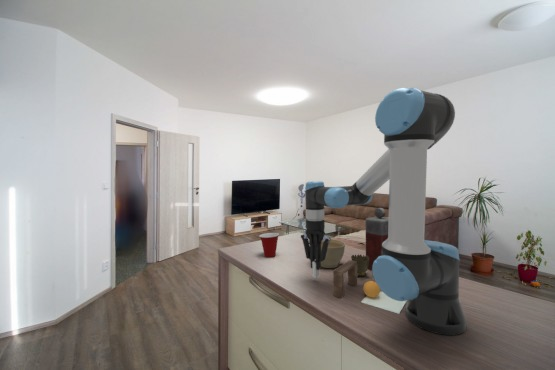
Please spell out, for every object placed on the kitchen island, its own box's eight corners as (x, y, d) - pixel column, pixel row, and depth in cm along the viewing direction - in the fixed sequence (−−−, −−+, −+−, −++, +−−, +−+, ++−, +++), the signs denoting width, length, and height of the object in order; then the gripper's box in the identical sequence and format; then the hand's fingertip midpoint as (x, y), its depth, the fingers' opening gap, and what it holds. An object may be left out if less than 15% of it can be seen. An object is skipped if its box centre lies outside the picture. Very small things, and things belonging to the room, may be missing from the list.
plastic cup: (267, 251, 146) (267, 231, 145) (283, 255, 139) (283, 233, 139) (255, 256, 137) (255, 234, 137) (271, 260, 131) (271, 237, 130)
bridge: (357, 284, 101) (357, 261, 100) (341, 298, 89) (341, 272, 89) (350, 282, 103) (349, 259, 102) (333, 296, 91) (333, 270, 91)
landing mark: (408, 299, 88) (408, 298, 88) (399, 314, 79) (399, 313, 79) (372, 289, 96) (372, 289, 96) (360, 302, 86) (360, 301, 86)
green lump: (370, 279, 105) (370, 260, 105) (352, 277, 107) (352, 259, 107) (368, 272, 113) (367, 254, 112) (350, 271, 114) (350, 253, 114)
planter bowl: (344, 272, 113) (343, 248, 112) (308, 269, 118) (307, 245, 117) (346, 261, 128) (346, 239, 127) (314, 258, 133) (314, 237, 133)
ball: (363, 286, 95) (376, 297, 92) (358, 291, 90) (372, 303, 87) (371, 275, 93) (384, 286, 90) (365, 280, 88) (380, 291, 86)
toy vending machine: (398, 269, 116) (398, 207, 115) (382, 274, 110) (382, 209, 109) (381, 263, 123) (380, 206, 122) (365, 268, 118) (365, 207, 117)
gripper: (334, 219, 102) (334, 277, 103) (306, 216, 110) (307, 270, 111) (325, 222, 96) (325, 283, 97) (296, 219, 104) (297, 275, 105)
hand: (315, 276), depth 104 cm, fingers closed
